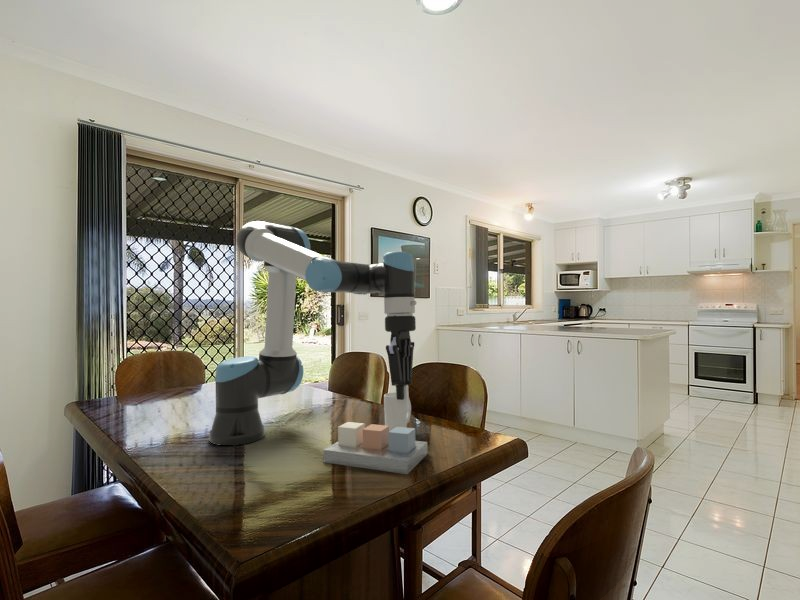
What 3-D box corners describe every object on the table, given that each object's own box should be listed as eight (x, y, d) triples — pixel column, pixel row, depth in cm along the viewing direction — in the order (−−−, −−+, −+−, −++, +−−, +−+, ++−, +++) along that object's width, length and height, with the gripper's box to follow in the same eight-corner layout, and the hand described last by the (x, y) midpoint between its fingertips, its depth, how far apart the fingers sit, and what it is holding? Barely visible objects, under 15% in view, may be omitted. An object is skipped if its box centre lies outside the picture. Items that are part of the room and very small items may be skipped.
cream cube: (338, 446, 103) (337, 426, 103) (348, 440, 107) (347, 421, 108) (355, 448, 101) (355, 428, 101) (365, 442, 106) (364, 423, 106)
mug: (396, 441, 115) (395, 398, 115) (379, 436, 119) (379, 395, 120) (419, 432, 122) (418, 392, 122) (403, 428, 127) (402, 390, 127)
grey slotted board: (323, 462, 99) (323, 449, 99) (351, 444, 112) (351, 433, 112) (407, 474, 91) (407, 460, 91) (427, 453, 104) (427, 441, 104)
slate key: (388, 453, 97) (388, 432, 98) (396, 446, 102) (396, 426, 102) (408, 455, 96) (407, 434, 96) (415, 448, 100) (415, 428, 100)
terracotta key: (362, 449, 100) (362, 429, 100) (371, 443, 105) (371, 424, 105) (381, 452, 98) (380, 431, 98) (389, 445, 103) (389, 425, 103)
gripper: (404, 314, 92) (407, 419, 91) (423, 314, 104) (426, 407, 104) (374, 315, 95) (377, 417, 94) (396, 315, 107) (398, 405, 106)
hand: (402, 412), depth 99 cm, fingers closed
